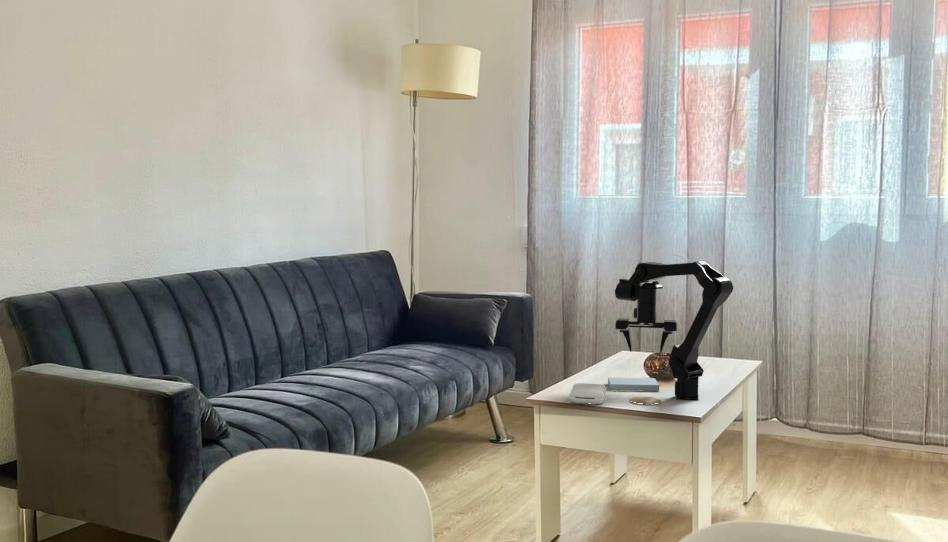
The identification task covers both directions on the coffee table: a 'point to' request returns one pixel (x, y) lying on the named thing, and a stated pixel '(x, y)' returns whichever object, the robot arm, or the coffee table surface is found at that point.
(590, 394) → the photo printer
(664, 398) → the coffee table surface
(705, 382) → the coffee table surface
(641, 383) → the pale blue flat block
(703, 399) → the coffee table surface
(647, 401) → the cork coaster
